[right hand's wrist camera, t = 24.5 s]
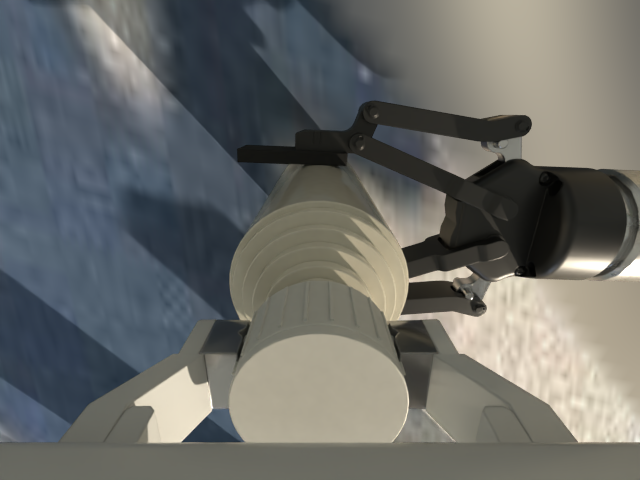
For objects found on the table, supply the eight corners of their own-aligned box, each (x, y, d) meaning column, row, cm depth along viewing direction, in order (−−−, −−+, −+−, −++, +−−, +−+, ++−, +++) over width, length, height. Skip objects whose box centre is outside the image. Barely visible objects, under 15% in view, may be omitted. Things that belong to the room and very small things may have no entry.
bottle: (376, 180, 29) (520, 352, 8) (330, 245, 31) (352, 512, 10) (306, 133, 27) (267, 196, 7) (263, 204, 30) (133, 417, 9)
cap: (338, 417, 11) (344, 495, 9) (221, 359, 10) (194, 428, 8) (420, 324, 10) (450, 387, 8) (294, 250, 9) (286, 296, 7)
